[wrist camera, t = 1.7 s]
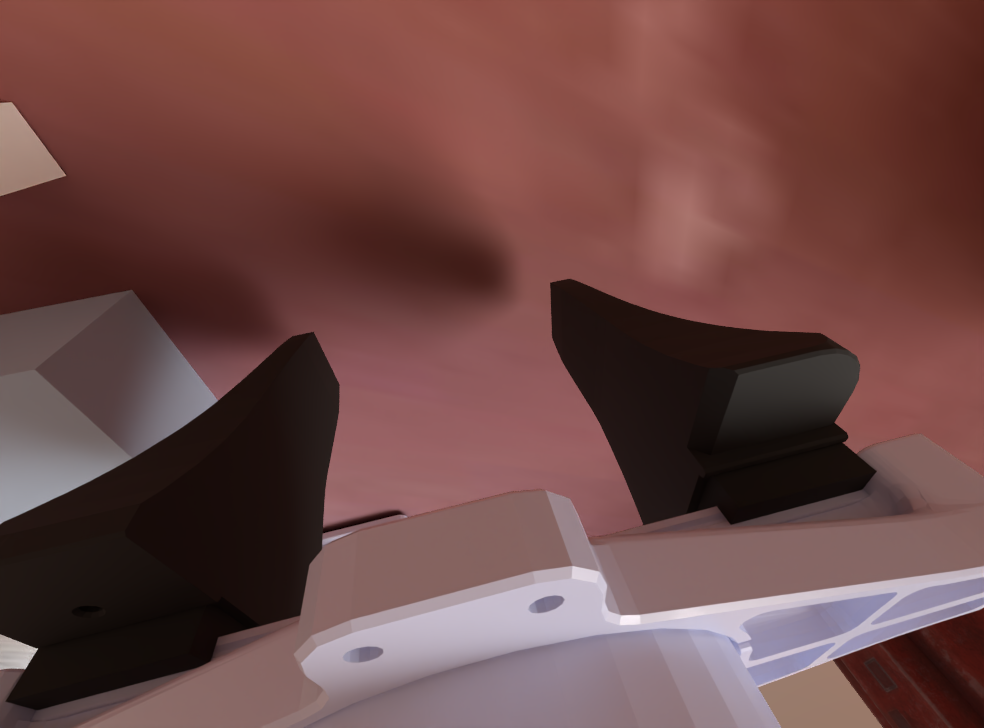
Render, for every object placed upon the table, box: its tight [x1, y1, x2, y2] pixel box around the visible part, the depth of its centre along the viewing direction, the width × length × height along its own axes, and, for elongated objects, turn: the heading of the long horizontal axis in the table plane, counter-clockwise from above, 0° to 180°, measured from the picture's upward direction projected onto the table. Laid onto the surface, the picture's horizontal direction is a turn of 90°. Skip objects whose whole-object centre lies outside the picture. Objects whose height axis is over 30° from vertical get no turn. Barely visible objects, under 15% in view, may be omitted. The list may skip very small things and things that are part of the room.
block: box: [0, 290, 218, 524], centre depth 11 cm, size 5×5×4 cm
